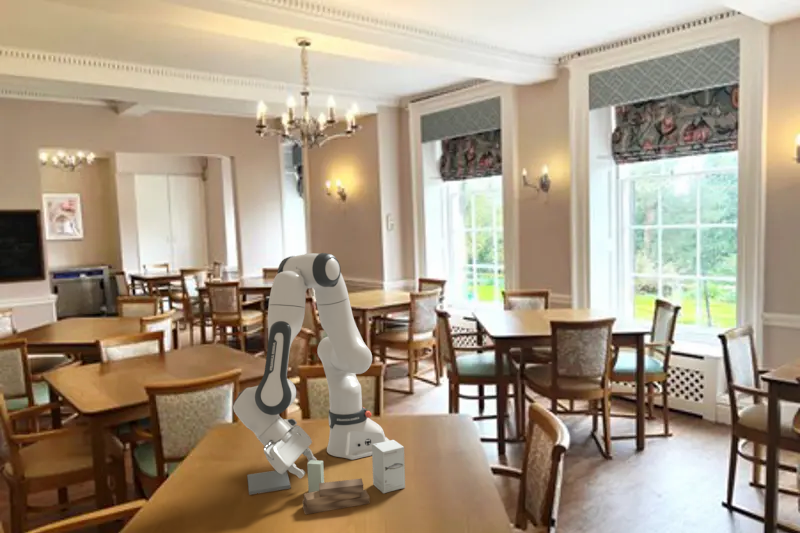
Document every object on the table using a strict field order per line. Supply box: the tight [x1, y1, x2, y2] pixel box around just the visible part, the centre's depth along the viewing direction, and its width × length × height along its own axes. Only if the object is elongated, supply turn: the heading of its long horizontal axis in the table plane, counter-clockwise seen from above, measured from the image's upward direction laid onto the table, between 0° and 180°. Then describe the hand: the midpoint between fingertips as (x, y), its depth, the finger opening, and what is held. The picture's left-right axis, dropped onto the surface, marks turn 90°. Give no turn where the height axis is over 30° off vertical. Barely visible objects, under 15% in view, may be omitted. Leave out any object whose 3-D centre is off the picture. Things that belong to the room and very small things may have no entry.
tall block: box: [306, 460, 325, 493], centre depth 171 cm, size 2×4×9 cm, turn 79°
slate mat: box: [246, 470, 291, 496], centre depth 178 cm, size 12×12×1 cm
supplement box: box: [371, 439, 406, 494], centre depth 173 cm, size 7×7×13 cm
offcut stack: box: [302, 478, 371, 515], centre depth 162 cm, size 18×6×6 cm, turn 107°
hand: (309, 469), depth 171 cm, fingers open, 8 cm apart
